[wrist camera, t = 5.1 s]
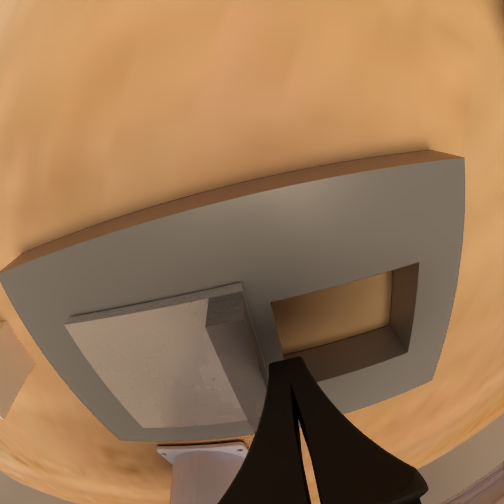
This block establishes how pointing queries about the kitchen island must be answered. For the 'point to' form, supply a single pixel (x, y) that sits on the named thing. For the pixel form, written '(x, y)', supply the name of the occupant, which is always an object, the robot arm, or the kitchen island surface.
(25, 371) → the plug
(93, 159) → the kitchen island surface
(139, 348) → the block
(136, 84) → the kitchen island surface
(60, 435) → the kitchen island surface
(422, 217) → the socket
